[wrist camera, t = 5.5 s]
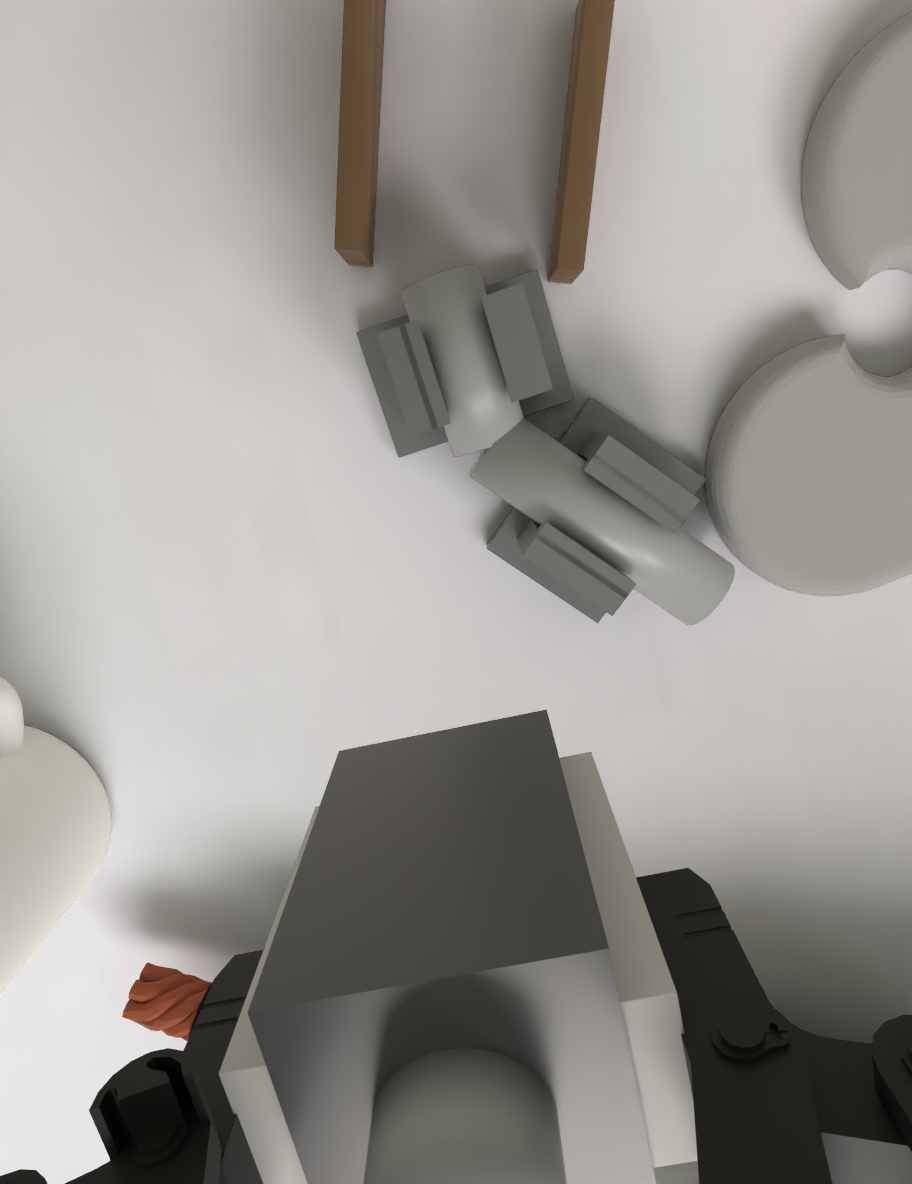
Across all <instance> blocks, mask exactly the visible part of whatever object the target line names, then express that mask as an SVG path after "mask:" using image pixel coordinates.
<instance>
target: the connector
mask: <svg viewBox="0 0 912 1184" xmlns="http://www.w3.org/2000/svg"><path fill="white" fill-rule="evenodd" d="M247 1013H248V1016H249V1019H250V1022H251V1024H252V1027H253V1030H254V1033H255V1036H256V1039H257V1041H258V1044H259V1047H260V1050H261V1053H262V1056H263V1058H264V1061H265V1064H266V1067H267V1070H268V1073H269V1075H270V1078H271V1081H272V1084H273V1087H274V1090H275V1092H276V1095H277V1098H278V1101H279V1104H280V1107H281V1109H282V1112H283V1115H284V1118H285V1121H286V1124H287V1126H288V1129H289V1132H290V1135H291V1138H292V1141H293V1143H294V1146H295V1149H296V1152H297V1155H298V1158H299V1160H300V1163H301V1166H302V1169H303V1172H304V1174H305V1177H306V1180H307V1183H308V1184H656V1180H655V1175H654V1170H653V1165H652V1160H651V1155H650V1150H649V1145H648V1140H647V1135H646V1130H645V1125H644V1120H643V1115H642V1110H641V1105H640V1100H639V1095H638V1090H637V1085H636V1080H635V1075H634V1070H633V1065H632V1060H631V1055H630V1050H629V1045H628V1040H627V1035H626V1030H625V1025H624V1020H623V1015H622V1010H621V1005H620V1000H619V995H618V990H617V985H616V980H615V975H614V970H613V965H612V960H611V955H610V950H609V946H608V942H607V939H606V935H605V931H604V927H603V923H602V919H601V916H600V912H599V908H598V904H597V900H596V897H595V893H594V889H593V885H592V881H591V878H590V874H589V870H588V866H587V862H586V859H585V855H584V851H583V847H582V843H581V840H580V836H579V832H578V828H577V824H576V820H575V817H574V813H573V809H572V805H571V801H570V798H569V794H568V790H567V786H566V782H565V779H564V775H563V771H562V767H561V763H560V760H559V756H558V752H557V748H556V744H555V741H554V737H553V733H552V729H551V725H550V721H549V718H548V714H547V710H543V711H538V712H533V713H528V714H523V715H518V716H513V717H508V718H503V719H498V720H493V721H488V722H483V723H478V724H473V725H468V726H463V727H458V728H453V729H448V730H443V731H438V732H433V733H427V734H422V735H417V736H412V737H407V738H402V739H397V740H392V741H387V742H382V743H377V744H372V745H367V746H362V747H357V748H352V749H347V750H342V751H339V753H338V756H337V759H336V761H335V764H334V767H333V770H332V773H331V776H330V779H329V781H328V784H327V787H326V790H325V793H324V796H323V799H322V801H321V804H320V807H319V810H318V813H317V816H316V819H315V821H314V824H313V827H312V830H311V833H310V836H309V838H308V841H307V844H306V847H305V850H304V853H303V856H302V858H301V861H300V864H299V867H298V870H297V873H296V876H295V878H294V881H293V884H292V887H291V890H290V893H289V896H288V898H287V901H286V904H285V907H284V910H283V913H282V915H281V918H280V921H279V924H278V927H277V930H276V933H275V935H274V938H273V941H272V944H271V947H270V950H269V953H268V955H267V958H266V961H265V964H264V967H263V970H262V972H261V975H260V978H259V981H258V984H257V987H256V990H255V992H254V995H253V998H252V1001H251V1004H250V1007H249V1010H248V1012H247Z"/></svg>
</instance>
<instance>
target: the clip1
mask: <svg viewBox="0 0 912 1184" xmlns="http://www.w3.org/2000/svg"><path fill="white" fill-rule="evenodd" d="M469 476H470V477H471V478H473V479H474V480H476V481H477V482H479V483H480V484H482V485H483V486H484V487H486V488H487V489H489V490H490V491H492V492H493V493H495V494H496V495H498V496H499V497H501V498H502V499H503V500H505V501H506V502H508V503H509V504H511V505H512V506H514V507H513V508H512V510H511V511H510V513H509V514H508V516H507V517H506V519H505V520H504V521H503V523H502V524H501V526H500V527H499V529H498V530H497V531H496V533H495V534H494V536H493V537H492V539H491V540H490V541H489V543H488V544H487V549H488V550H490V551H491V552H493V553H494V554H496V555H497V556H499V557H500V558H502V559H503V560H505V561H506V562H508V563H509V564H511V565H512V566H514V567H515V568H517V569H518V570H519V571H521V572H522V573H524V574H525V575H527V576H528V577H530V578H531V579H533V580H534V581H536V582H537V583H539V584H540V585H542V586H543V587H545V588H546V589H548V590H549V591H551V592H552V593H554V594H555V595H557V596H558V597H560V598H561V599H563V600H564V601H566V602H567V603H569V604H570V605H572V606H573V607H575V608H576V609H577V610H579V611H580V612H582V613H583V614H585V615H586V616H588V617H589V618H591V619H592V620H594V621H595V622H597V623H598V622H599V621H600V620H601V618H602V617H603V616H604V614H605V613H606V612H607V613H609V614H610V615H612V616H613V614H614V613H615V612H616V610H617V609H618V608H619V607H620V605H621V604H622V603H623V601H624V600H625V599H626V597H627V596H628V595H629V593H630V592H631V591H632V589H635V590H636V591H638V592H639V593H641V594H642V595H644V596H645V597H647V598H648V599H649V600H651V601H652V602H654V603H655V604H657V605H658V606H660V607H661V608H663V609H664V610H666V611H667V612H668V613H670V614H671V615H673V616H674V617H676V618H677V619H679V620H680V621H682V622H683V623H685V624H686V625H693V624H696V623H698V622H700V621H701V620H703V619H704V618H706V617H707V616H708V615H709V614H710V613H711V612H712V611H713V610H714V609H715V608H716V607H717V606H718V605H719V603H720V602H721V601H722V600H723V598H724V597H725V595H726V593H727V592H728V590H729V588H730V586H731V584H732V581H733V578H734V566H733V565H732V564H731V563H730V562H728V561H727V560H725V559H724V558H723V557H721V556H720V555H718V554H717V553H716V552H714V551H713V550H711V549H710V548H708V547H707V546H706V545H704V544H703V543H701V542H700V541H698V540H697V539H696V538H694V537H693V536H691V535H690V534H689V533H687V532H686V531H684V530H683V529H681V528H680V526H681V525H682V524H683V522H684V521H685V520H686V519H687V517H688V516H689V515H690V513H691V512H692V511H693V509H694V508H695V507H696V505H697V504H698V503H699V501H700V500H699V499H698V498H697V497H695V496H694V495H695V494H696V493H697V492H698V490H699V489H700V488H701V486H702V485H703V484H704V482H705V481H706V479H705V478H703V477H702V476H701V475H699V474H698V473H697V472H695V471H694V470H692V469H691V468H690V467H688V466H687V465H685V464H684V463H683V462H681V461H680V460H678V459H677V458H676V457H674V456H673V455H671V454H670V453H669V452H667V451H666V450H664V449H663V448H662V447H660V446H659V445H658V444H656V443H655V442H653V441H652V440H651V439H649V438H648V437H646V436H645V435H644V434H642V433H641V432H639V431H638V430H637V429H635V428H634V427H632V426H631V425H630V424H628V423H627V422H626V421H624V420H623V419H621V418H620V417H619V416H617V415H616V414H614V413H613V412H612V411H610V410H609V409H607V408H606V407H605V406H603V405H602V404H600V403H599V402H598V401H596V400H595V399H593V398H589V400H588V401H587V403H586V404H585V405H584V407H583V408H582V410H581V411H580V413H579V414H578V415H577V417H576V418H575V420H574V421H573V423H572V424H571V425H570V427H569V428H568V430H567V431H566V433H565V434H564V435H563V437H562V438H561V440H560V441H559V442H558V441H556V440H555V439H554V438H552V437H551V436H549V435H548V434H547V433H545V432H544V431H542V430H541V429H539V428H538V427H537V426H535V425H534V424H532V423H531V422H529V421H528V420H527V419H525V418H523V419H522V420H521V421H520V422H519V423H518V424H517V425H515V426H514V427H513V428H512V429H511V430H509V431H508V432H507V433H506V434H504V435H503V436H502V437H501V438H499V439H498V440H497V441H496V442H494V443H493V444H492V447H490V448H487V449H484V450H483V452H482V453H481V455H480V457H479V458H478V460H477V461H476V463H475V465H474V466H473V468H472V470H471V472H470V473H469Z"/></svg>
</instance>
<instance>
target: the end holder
mask: <svg viewBox="0 0 912 1184" xmlns="http://www.w3.org/2000/svg"><path fill="white" fill-rule="evenodd" d="M614 1H615V0H579V2H578V6H577V10H576V18H575V28H574V37H573V47H572V56H571V66H570V76H569V85H568V95H567V104H566V114H565V124H564V133H563V143H562V152H561V162H560V171H559V181H558V191H557V200H556V210H555V219H554V229H553V238H552V248H551V258H550V267H549V277H548V282H555V283H567V284H572V283H573V281H574V280H575V279H576V278H577V277H578V276H579V274H580V273H581V272H582V271H583V270H584V262H585V253H586V244H587V236H588V227H589V218H590V210H591V201H592V192H593V184H594V175H595V166H596V157H597V149H598V140H599V131H600V123H601V114H602V105H603V97H604V88H605V79H606V70H607V62H608V53H609V44H610V36H611V27H612V18H613V9H614ZM385 6H386V0H344V18H343V44H342V70H341V96H340V122H339V148H338V174H337V200H336V226H335V249H336V251H337V252H338V253H339V254H340V255H341V256H342V258H343V259H344V260H345V261H346V262H347V263H348V264H349V265H355V266H367V267H372V264H373V244H374V224H375V205H376V185H377V165H378V145H379V125H380V105H381V85H382V65H383V46H384V26H385Z"/></svg>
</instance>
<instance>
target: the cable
mask: <svg viewBox="0 0 912 1184" xmlns="http://www.w3.org/2000/svg"><path fill="white" fill-rule="evenodd" d="M211 986H212V983H211V982H207V981H204V980H202V979H200V978H198V977H196V976H192V975H185V974H183V973H181V972H180V971H178V970H177V969H171V968H165V967H159V966H155V965H153V964H150V963H147V964H146V965H145V967H144V968H143V970H142V972H141V974H140V979H139V980H136V981H135V983H134V984H133V986H132V988H131V990H130V992H129V997H128V998H130V1000H129V1001H128V1003H127V1004H126V1007H125V1009H124V1011H123V1016H122V1017H124V1018H127V1019H130V1020H132V1021H134V1022H136V1023H138V1024H140V1025H142V1026H144V1027H146V1028H148V1029H150V1030H154V1031H160V1030H162V1031H163V1032H164V1033H166V1034H167V1035H169V1036H173V1037H177V1038H180V1037H181V1038H183V1039H184V1040H186V1041H188V1039H189V1037H190V1035H191V1032H192V1030H195V1023H196V1021H197V1018H198V1016H199V1014H200V1011H201V1009H204V1002H205V1000H206V997H207V995H208V993H209V990H210V988H211ZM653 1170H654V1175H655V1180H656V1184H699V1174H698V1161H693V1162H686V1163H680V1164H674V1165H668V1166H662V1167H655V1168H653Z"/></svg>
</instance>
